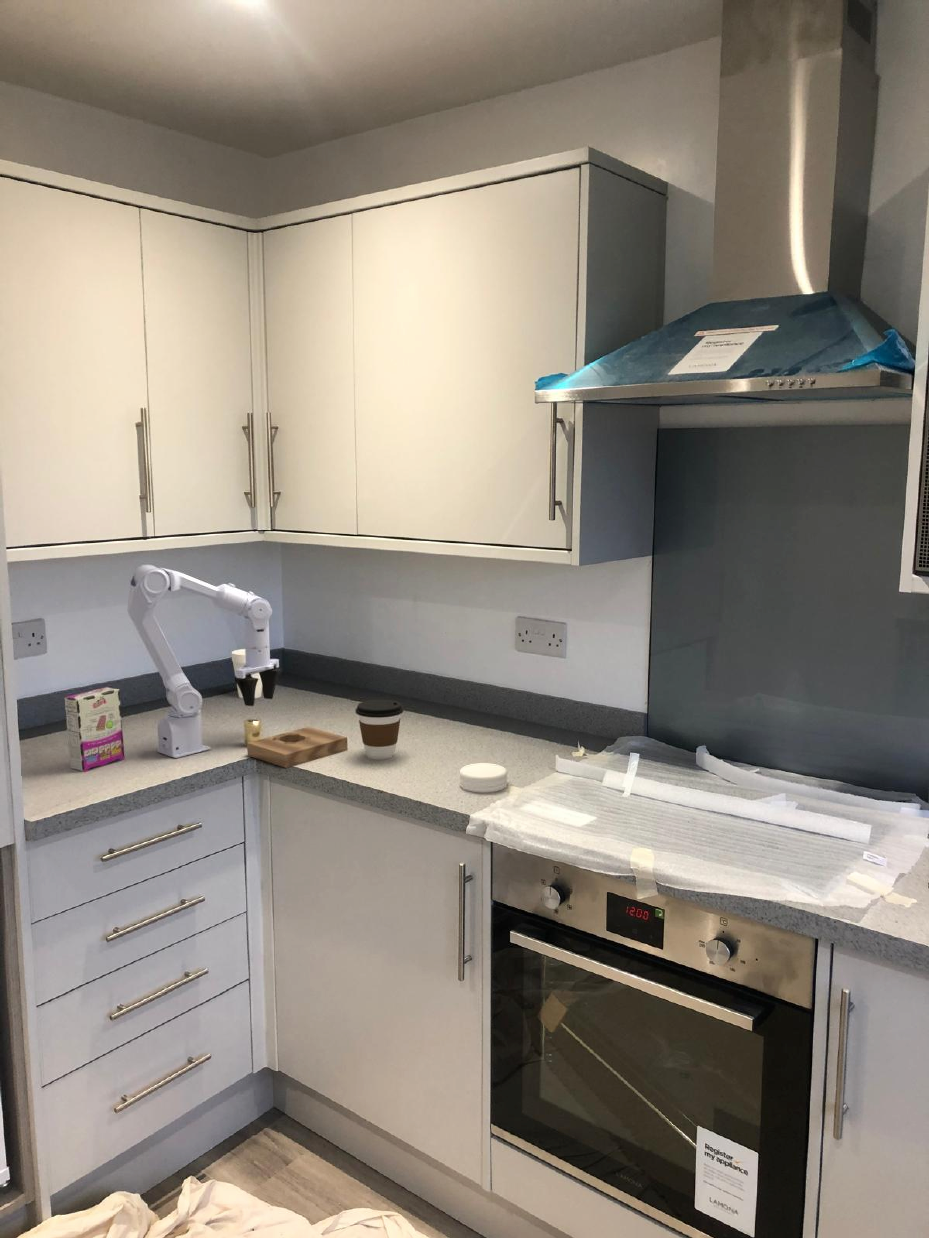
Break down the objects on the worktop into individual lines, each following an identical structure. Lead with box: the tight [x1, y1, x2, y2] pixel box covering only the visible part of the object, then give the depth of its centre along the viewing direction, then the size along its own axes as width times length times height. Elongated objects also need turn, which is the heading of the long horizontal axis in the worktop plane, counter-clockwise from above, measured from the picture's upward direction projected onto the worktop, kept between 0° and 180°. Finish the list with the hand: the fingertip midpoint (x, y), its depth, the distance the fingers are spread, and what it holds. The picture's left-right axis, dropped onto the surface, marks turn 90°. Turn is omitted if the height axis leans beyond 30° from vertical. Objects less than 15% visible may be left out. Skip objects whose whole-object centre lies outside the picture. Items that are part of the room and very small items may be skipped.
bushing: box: [243, 717, 263, 748], centre depth 230 cm, size 4×4×6 cm
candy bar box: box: [63, 686, 125, 773], centre depth 215 cm, size 11×5×16 cm, turn 148°
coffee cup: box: [355, 699, 404, 760], centre depth 221 cm, size 11×11×12 cm
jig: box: [246, 726, 348, 769], centre depth 224 cm, size 18×14×3 cm
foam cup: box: [231, 648, 263, 699], centre depth 278 cm, size 10×9×13 cm
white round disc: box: [458, 762, 508, 794], centre depth 202 cm, size 10×10×4 cm
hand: (259, 701), depth 233 cm, fingers open, 7 cm apart
